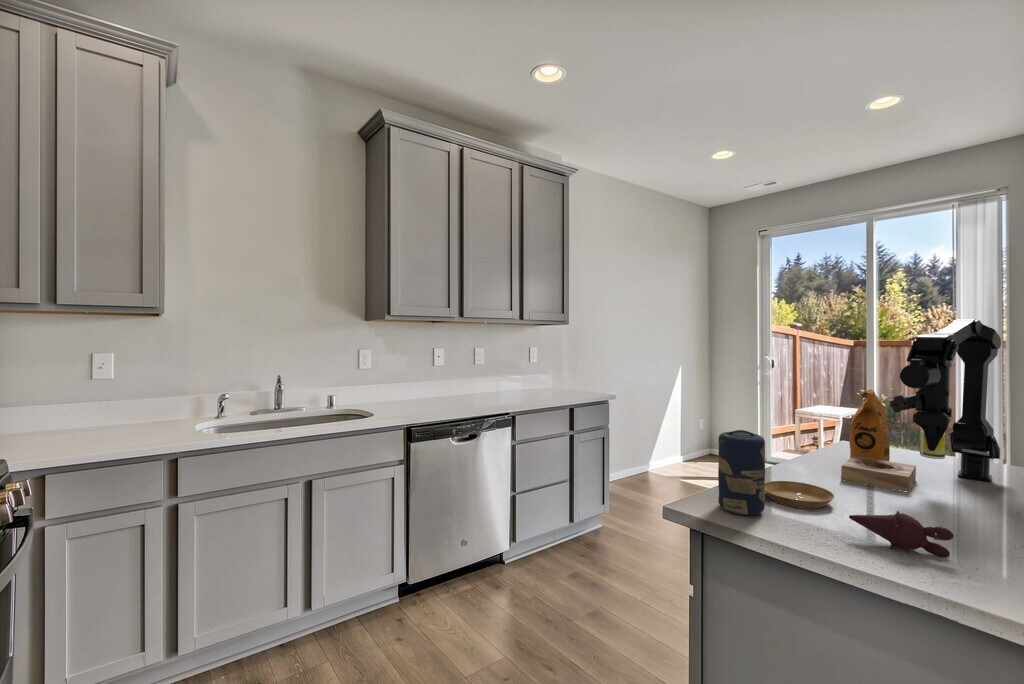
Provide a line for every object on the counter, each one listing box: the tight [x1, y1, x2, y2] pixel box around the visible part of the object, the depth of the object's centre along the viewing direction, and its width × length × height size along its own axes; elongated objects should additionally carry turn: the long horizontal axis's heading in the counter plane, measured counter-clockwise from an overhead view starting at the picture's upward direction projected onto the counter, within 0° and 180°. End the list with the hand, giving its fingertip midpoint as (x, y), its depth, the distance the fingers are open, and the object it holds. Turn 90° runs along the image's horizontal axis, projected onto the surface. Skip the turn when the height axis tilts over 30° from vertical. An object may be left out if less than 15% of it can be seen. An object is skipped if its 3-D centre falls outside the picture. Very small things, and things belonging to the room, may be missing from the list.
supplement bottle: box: [919, 428, 947, 460], centre depth 119 cm, size 5×5×8 cm
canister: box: [717, 429, 766, 516], centre depth 108 cm, size 10×10×18 cm
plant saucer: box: [765, 480, 835, 510], centre depth 114 cm, size 15×15×3 cm
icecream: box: [848, 510, 955, 558], centre depth 89 cm, size 7×7×15 cm
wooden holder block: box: [840, 456, 917, 493], centre depth 129 cm, size 14×14×4 cm
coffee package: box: [849, 388, 891, 461], centre depth 145 cm, size 10×12×22 cm
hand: (932, 448), depth 119 cm, fingers closed on supplement bottle, 5 cm apart
